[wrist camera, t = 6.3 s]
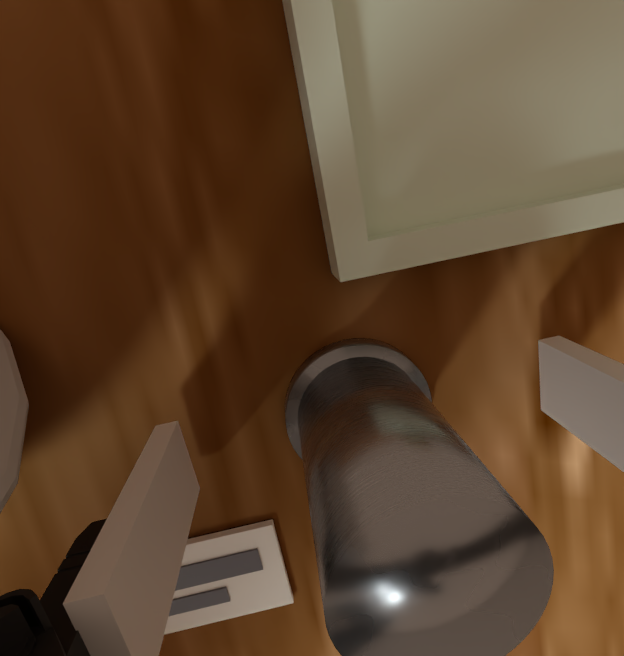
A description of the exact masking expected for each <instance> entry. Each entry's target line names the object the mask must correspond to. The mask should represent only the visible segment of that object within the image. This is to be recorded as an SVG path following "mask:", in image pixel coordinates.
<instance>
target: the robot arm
mask: <svg viewBox="0 0 624 656" xmlns="http://www.w3.org/2000/svg"><path fill="white" fill-rule="evenodd" d="M538 348H539V373H540V398H541V410H542V411H543V412H544V413H546V414H547V415H548V416H550V417H551V418H552V419H554V420H555V421H556V422H558V423H559V424H560V425H562V426H563V427H564V428H566V429H567V430H568V431H570V432H571V433H572V434H574V435H575V436H576V437H578V438H579V439H580V440H582V441H583V442H584V443H586V444H587V445H588V446H590V447H591V448H592V449H594V450H595V451H596V452H598V453H599V454H600V455H602V456H603V457H604V458H606V459H607V460H608V461H610V462H611V463H612V464H614V465H615V466H616V467H618V468H619V469H620V470H622V471H623V472H624V364H622V363H620V362H617V361H615V360H613V359H611V358H609V357H606V356H604V355H602V354H600V353H597V352H595V351H593V350H591V349H588V348H586V347H584V346H582V345H579V344H577V343H575V342H573V341H570V340H568V339H566V338H564V337H561V336H555V337H550V338H546V339H541V340H538ZM199 491H200V486H199V483H198V480H197V477H196V474H195V471H194V468H193V465H192V462H191V459H190V456H189V453H188V450H187V447H186V444H185V441H184V437H183V434H182V431H181V428H180V425H179V422H178V421H174V422H170V423H165V424H161V425H156V426H155V428H154V429H153V431H152V433H151V435H150V437H149V439H148V441H147V443H146V445H145V447H144V449H143V451H142V452H141V454H140V456H139V458H138V460H137V462H136V464H135V466H134V468H133V470H132V472H131V474H130V476H129V477H128V479H127V481H126V483H125V485H124V487H123V489H122V491H121V493H120V495H119V497H118V499H117V500H116V502H115V504H114V506H113V508H112V510H111V512H110V514H109V516H108V518H107V519H104V520H99V521H95V522H92V523H91V524H90V525H89V526H88V527H87V528H86V529H85V530H84V531H83V532H82V533H81V534H80V535H79V536H78V537H77V538H76V539H75V541H74V543H73V545H72V546H71V548H70V550H69V551H68V553H67V555H66V559H64V560H63V562H62V563H61V565H60V567H59V569H58V570H57V571H58V573H57V574H55V575H54V577H53V579H52V581H51V582H50V584H49V586H48V587H47V589H46V591H45V593H44V594H43V596H42V598H41V599H40V601H39V599H38V597H37V595H36V594H35V593H34V592H33V591H32V590H29V589H19V590H15V591H12V592H9V593H6V594H4V595H2V596H0V656H159V653H160V649H161V645H162V641H163V637H164V633H165V628H166V624H167V620H168V616H169V612H170V608H171V604H172V600H173V596H174V592H175V588H176V584H177V580H178V576H179V572H180V568H181V564H182V560H183V556H184V552H185V548H186V543H187V539H188V535H189V531H190V527H191V523H192V519H193V515H194V511H195V507H196V503H197V499H198V495H199Z"/></svg>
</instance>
